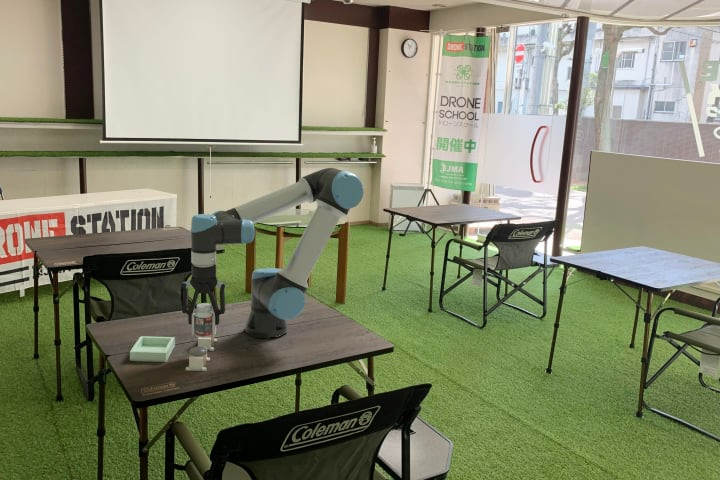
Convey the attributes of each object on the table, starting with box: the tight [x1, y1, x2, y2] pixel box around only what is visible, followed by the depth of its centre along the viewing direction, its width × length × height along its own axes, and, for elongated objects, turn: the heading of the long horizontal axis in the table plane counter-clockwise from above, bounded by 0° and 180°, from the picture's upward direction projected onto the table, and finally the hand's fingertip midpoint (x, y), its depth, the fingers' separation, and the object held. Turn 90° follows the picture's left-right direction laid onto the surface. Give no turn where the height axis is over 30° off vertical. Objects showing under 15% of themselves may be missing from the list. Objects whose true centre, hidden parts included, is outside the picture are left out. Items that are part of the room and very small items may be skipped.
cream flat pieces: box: [185, 337, 218, 372], centre depth 202 cm, size 6×24×4 cm, turn 5°
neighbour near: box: [189, 346, 208, 367], centre depth 194 cm, size 5×5×5 cm
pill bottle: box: [194, 302, 214, 338], centre depth 200 cm, size 6×6×10 cm
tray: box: [129, 335, 176, 363], centre depth 200 cm, size 11×13×3 cm
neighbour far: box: [210, 336, 215, 347], centre depth 209 cm, size 5×5×5 cm
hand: (204, 333), depth 201 cm, fingers closed on pill bottle, 6 cm apart
